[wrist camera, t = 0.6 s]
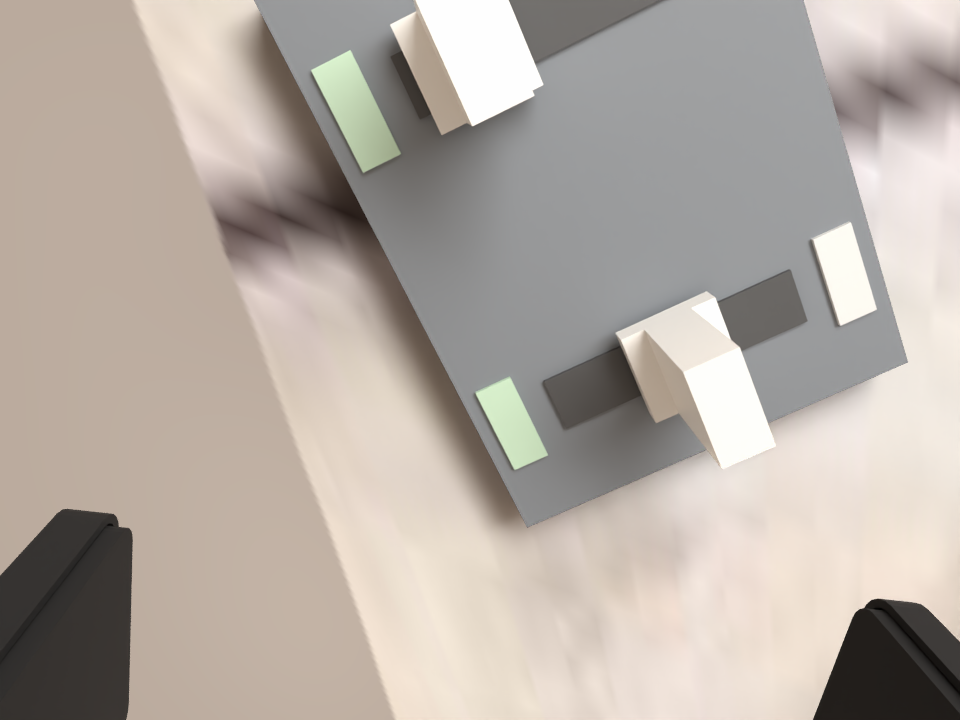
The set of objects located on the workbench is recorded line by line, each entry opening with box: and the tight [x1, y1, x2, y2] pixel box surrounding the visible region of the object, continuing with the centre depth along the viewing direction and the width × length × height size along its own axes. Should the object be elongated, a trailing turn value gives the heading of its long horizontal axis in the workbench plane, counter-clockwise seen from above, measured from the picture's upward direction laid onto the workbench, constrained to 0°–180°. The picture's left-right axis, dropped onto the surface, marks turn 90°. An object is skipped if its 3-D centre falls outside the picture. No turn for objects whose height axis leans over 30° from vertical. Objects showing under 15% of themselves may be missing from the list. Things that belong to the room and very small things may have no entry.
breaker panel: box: [254, 0, 908, 527], centre depth 30 cm, size 24×18×2 cm
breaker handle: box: [390, 0, 543, 135], centre depth 24 cm, size 4×4×6 cm
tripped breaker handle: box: [616, 291, 776, 469], centre depth 28 cm, size 4×4×6 cm
